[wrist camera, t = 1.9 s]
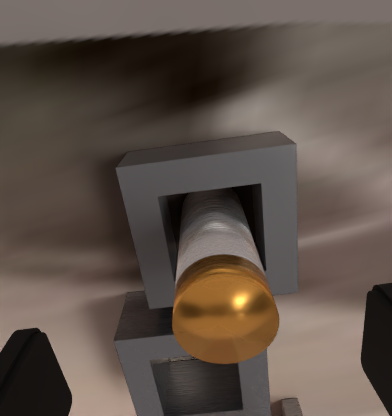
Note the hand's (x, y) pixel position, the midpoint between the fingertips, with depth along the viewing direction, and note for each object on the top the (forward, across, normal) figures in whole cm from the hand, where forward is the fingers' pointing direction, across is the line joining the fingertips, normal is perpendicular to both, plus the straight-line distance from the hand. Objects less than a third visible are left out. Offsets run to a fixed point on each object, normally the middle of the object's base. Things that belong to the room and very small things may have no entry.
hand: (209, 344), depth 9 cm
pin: (+10, -1, 0) cm, 10 cm away
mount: (+10, -1, 0) cm, 10 cm away
